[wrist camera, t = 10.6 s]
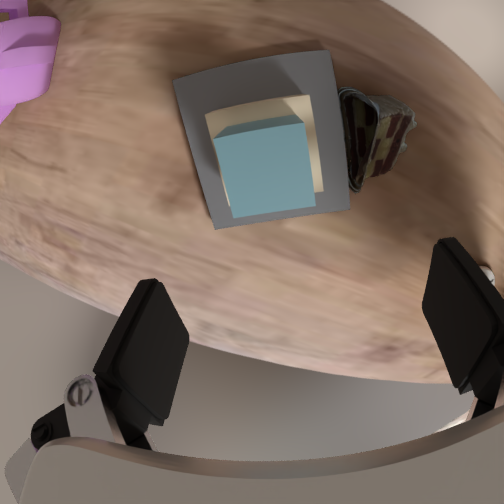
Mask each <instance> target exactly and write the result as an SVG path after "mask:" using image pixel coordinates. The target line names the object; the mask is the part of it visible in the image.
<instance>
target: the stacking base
mask: <svg viewBox="0 0 504 504" xmlns="http://www.w3.org/2000/svg"><path fill="white" fill-rule="evenodd" d="M172 82H173V85H174V89H175V93H176V97H177V101H178V104H179V108H180V112H181V115H182V119H183V123H184V126H185V130H186V133H187V137H188V141H189V144H190V148H191V151H192V155H193V158H194V162H195V165H196V168H197V172H198V175H199V179H200V182H201V185H202V189H203V192H204V195H205V199H206V202H207V205H208V209H209V212H210V215H211V219H212V222H213V225H214V228H215V230H216V229H222V228H228V227H234V226H241V225H247V224H253V223H260V222H266V221H272V220H279V219H286V218H293V217H299V216H306V215H313V214H320V213H328V212H335V211H343V210H350V197H349V182H348V170H347V159H346V150H345V141H344V132H343V125H342V117H341V111H340V104H339V98H338V92H337V86H336V80H335V75H334V70H333V65H332V60H331V55H330V51H329V50H318V51H307V52H297V53H289V54H281V55H274V56H268V57H262V58H257V59H251V60H246V61H241V62H237V63H232V64H228V65H224V66H220V67H216V68H212V69H208V70H205V71H201V72H198V73H194V74H191V75H188V76H184V77H181V78H178V79H175V80H172ZM295 114H296V115H297V116H298V117H299V118H300V119H301V120H302V121H303V122H304V124H305V130H306V136H307V143H308V149H309V156H310V163H311V170H312V178H313V186H314V194H315V203H316V206H313V207H305V208H298V209H291V210H284V211H277V212H271V213H264V214H258V215H251V216H245V217H239V218H233V215H232V211H231V207H230V203H229V199H228V196H227V192H226V188H225V184H224V180H223V176H222V172H221V169H220V165H219V161H218V157H217V153H216V149H215V145H214V141H213V138H215V137H216V136H217V135H218V134H219V133H220V132H221V131H222V130H223V129H224V128H225V127H227V126H232V125H237V124H241V123H247V122H252V121H257V120H263V119H269V118H275V117H281V116H288V115H295Z"/></svg>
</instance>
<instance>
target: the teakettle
mask: <svg viewBox="0 0 504 504" xmlns="http://www.w3.org/2000/svg"><path fill="white" fill-rule="evenodd" d="M0 12H9V20H8V21H4V22H0V124H1V123H2V121H3V120H4V119H5V118H6V117H7V115H8V114H9V113H10V112H11V111H12V110H13V109H14V107H15V106H16V104H18V103H22V102H25V101H29V100H32V99H34V98H37V97H39V96H41V95H42V94H44V93H45V92H46V91H47V90H48V89H49V85H50V80H51V75H52V69H53V64H54V59H55V54H56V49H57V43H58V39H59V34H60V28H61V22H60V21H59V20H57V19H56V18H54V17H49V16H30V17H29V14H28V5H27V0H0Z"/></svg>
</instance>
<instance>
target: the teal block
mask: <svg viewBox="0 0 504 504" xmlns="http://www.w3.org/2000/svg"><path fill="white" fill-rule="evenodd" d="M213 141H214V145H215V149H216V153H217V157H218V161H219V165H220V169H221V172H222V176H223V180H224V184H225V188H226V192H227V196H228V199H229V203H230V207H231V211H232V215H233V218H239V217H245V216H251V215H258V214H264V213H271V212H277V211H284V210H291V209H298V208H305V207H313V206H316V203H315V194H314V186H313V178H312V170H311V163H310V156H309V149H308V143H307V136H306V130H305V124H304V122H303V121H302V120H301V119H300V118H299V117H298V116H297V115H296V114H295V115H288V116H281V117H275V118H269V119H263V120H257V121H252V122H247V123H241V124H237V125H232V126H227V127H225V128H224V129H223V130H222V131H221V132H220V133H219V134H218V135H217V136H216V137H215V138H213Z"/></svg>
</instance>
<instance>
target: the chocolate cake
mask: <svg viewBox="0 0 504 504" xmlns="http://www.w3.org/2000/svg"><path fill="white" fill-rule="evenodd" d="M337 92H338V98H339V104H340V111H341V117H342V125H343V130H344V141H345V144H346V148H347V151H346V153H347V158H348V159H347V161H348V168H349V169H348V171H349V172H350V171H351V172H350V173H351V174H349V178H348V182H349V187H350V189H351V190H352V191H353V192H354V193H359V192H360V190H361V187H362V186H363V184H364V180H365V179H366V178H367V177H369V176H370V177H374V176H378V175H380V174H385V173H386V172H388V171H390V170H391V169H392V168H393V166H394V164H395V162H396V161H397V157H398V155H399V153H400V152H404V151H406V149H407V145H406V144H405V143H404V141H405V138H406V134H407V132H408V131H409V130H411V129H413V128H415V127H416V126H417V123H416V122H415V121H414V118H415V113H414V112H413V111H412V110H411V109H410V108H409V107H408V106H407V105H406V104H404V103H403V102H401V101H399V100H397V99H395V98H394V97H392V96H390V95H381V96H375V95H371V96H370V95H369V96H366V95H364V94H363V93H362V92H361V91H359V90H357V89H355V88H352V87H341V88H340V89H339V90H337ZM350 160H351V162H350Z"/></svg>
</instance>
